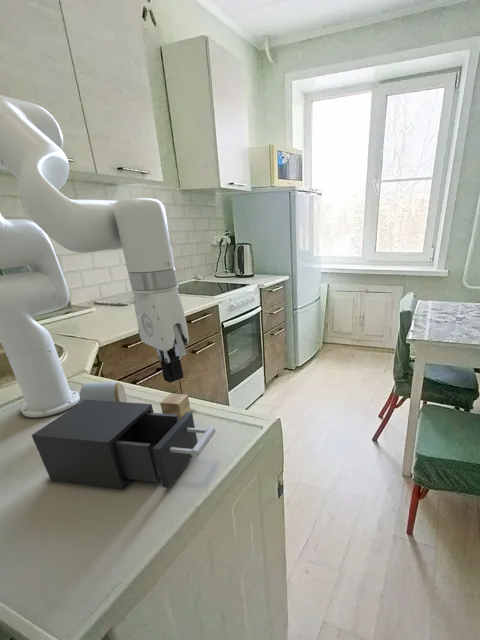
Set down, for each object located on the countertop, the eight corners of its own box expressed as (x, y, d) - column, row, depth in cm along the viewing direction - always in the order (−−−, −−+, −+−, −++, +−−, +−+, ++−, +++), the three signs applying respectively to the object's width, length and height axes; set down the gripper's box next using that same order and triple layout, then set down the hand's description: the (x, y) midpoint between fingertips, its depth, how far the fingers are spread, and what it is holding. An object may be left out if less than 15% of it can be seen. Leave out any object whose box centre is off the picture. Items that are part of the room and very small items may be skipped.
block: (163, 420, 80) (159, 402, 78) (173, 410, 84) (170, 393, 82) (182, 421, 79) (178, 404, 77) (191, 411, 83) (187, 394, 81)
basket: (224, 449, 67) (218, 414, 64) (198, 491, 57) (190, 452, 54) (136, 441, 71) (127, 407, 67) (97, 479, 61) (84, 442, 57)
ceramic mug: (123, 416, 82) (115, 386, 79) (85, 422, 80) (75, 391, 77) (131, 397, 91) (124, 369, 88) (97, 401, 90) (88, 374, 87)
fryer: (161, 445, 71) (151, 403, 66) (123, 489, 60) (107, 442, 55) (98, 439, 74) (85, 399, 69) (50, 480, 63) (31, 435, 58)
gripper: (113, 280, 62) (137, 375, 70) (155, 289, 52) (177, 398, 60) (153, 274, 67) (171, 364, 75) (198, 281, 57) (213, 383, 65)
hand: (174, 379), depth 67 cm, fingers closed
